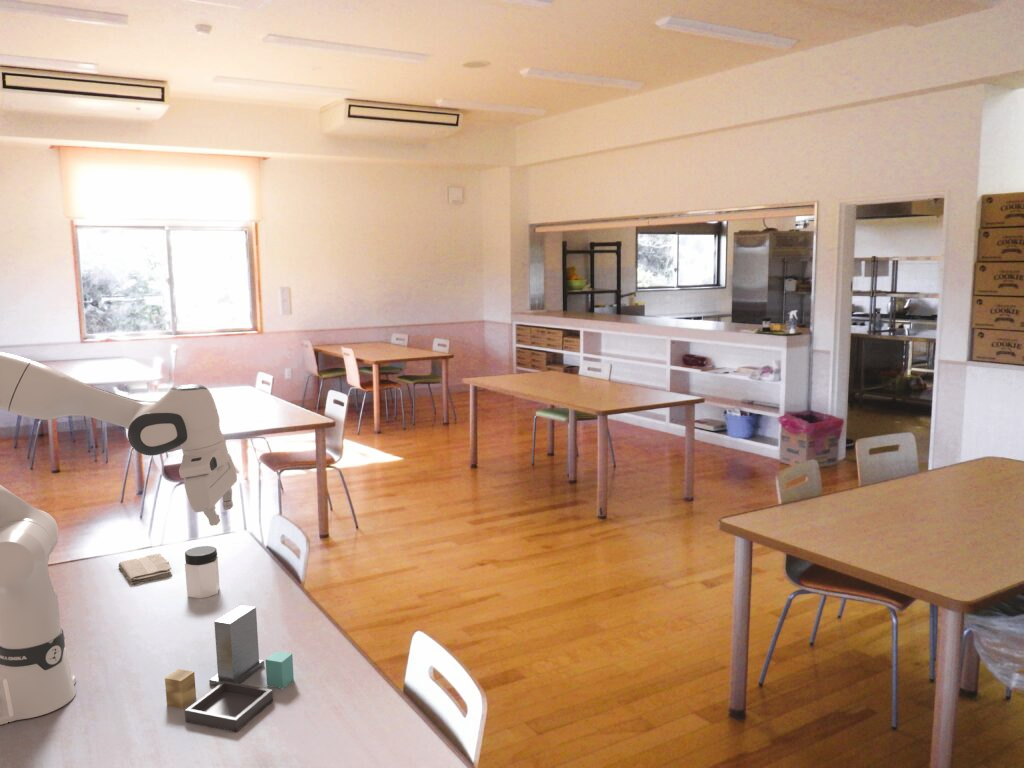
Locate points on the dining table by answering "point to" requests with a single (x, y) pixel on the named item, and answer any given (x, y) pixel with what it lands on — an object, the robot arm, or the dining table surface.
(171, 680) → the ochre block
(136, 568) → the washcloth
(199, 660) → the dining table surface
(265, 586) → the dining table surface
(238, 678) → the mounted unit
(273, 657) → the teal block
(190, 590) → the jar
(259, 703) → the black tray
